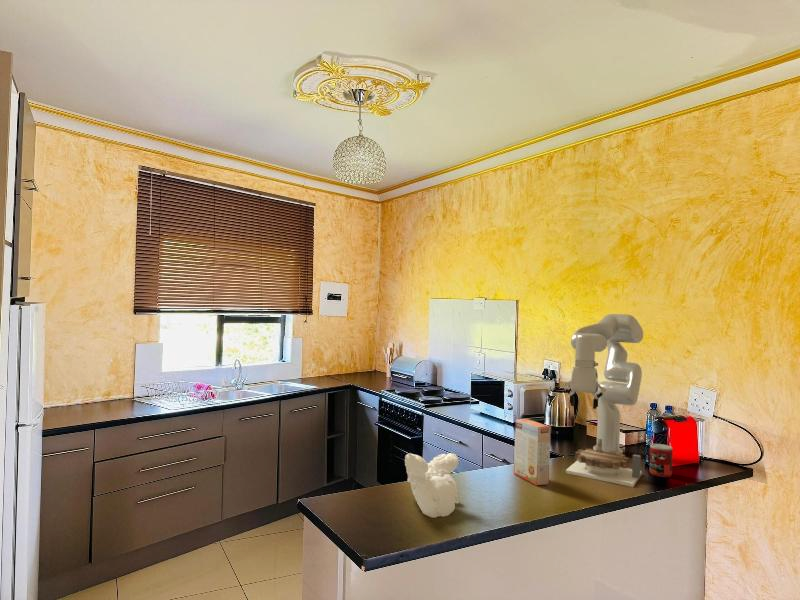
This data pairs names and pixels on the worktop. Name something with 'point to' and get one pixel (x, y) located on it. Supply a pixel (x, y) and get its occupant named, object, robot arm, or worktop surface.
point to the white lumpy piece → (433, 483)
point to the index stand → (609, 472)
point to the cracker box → (532, 451)
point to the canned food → (661, 460)
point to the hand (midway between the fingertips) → (583, 406)
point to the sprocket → (602, 457)
